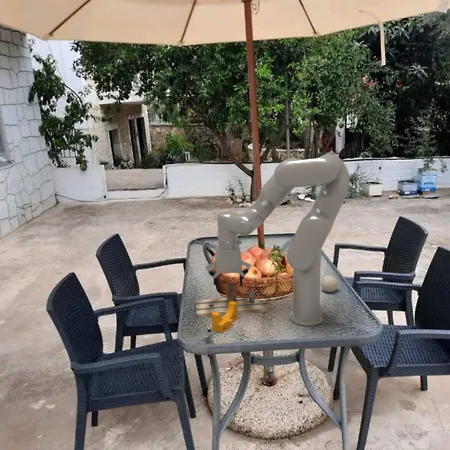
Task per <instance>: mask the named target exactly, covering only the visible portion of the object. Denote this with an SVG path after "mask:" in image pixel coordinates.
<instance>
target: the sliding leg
mask: <svg viewBox="0 0 450 450" xmlns="http://www.w3.org/2000/svg"><path fill="white" fill-rule="evenodd" d="M225 295H226V297H225V298H227V304H229V302H231V301H233V302H236V297H237V286H236V283H235V282H227V283H225Z"/></svg>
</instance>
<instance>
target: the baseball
mask: <svg viewBox="0 0 450 450" xmlns="http://www.w3.org/2000/svg"><path fill="white" fill-rule="evenodd" d="M338 287H339V281H338V280H337V278H336V277H334V276H333V275H325V276H323V277H322V278H321V279H320V288H321V289H322V290H323V291H324V292H327V293H332V292H335V291H336V290H337V288H338Z"/></svg>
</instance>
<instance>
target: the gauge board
mask: <svg viewBox="0 0 450 450" xmlns="http://www.w3.org/2000/svg"><path fill="white" fill-rule="evenodd" d="M236 302H237V307H238V315H242V314H251V313H252V314H253V313H264V312H270V311H271V308H270V304H269V302H268V300H267V299H266V300H255V302H254V303H249V300H247V299H238V298H236ZM228 306H229V304H227V298H226V297H221V298H211V299H200V300H199V299H197V300H195V310H196V311H195V313H196V319H198V318H208V317H209V318H210V317H211V314H212V313H213V312H217V313H220V314H221V317H223V316H224V315H225V314H226V312H227V310H228Z"/></svg>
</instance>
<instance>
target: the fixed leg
mask: <svg viewBox="0 0 450 450" xmlns="http://www.w3.org/2000/svg"><path fill="white" fill-rule="evenodd" d="M250 291H251V290H249V291H248V296H249V303H254V302H255V300H254V295H255V291H254V292H250Z"/></svg>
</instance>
